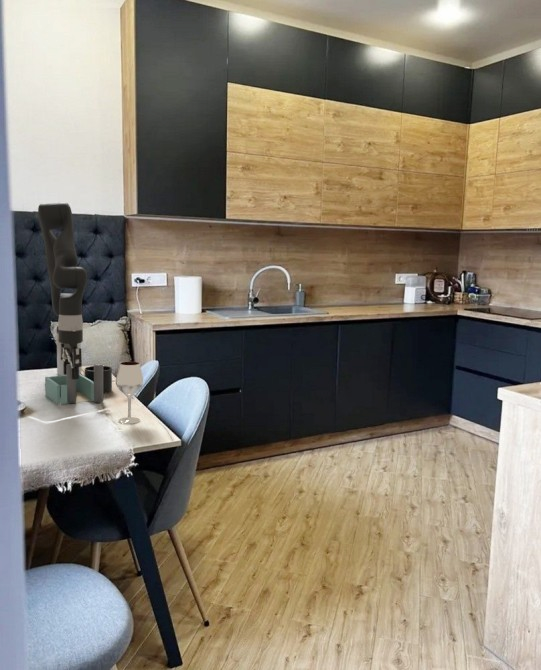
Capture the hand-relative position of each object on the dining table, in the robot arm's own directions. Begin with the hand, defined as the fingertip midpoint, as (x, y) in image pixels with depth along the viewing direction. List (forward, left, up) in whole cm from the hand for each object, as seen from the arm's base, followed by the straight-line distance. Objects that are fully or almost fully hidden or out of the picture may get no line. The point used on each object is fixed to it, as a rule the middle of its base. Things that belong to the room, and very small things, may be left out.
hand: (71, 376), depth 183 cm
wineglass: (+26, +10, -10) cm, 29 cm away
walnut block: (-8, +2, -9) cm, 12 cm away
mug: (-13, +14, -10) cm, 21 cm away
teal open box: (-7, +2, -10) cm, 12 cm away
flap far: (+3, +8, -9) cm, 12 cm away
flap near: (0, -1, -9) cm, 9 cm away
